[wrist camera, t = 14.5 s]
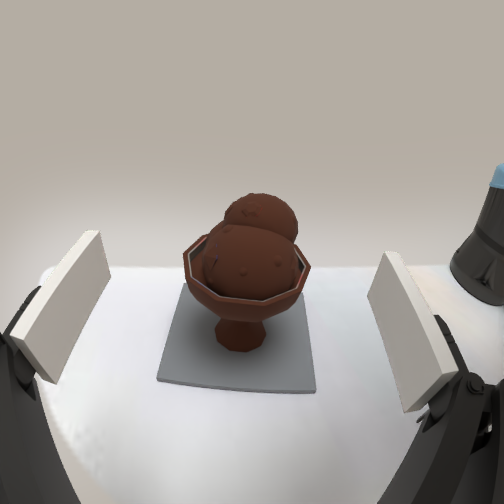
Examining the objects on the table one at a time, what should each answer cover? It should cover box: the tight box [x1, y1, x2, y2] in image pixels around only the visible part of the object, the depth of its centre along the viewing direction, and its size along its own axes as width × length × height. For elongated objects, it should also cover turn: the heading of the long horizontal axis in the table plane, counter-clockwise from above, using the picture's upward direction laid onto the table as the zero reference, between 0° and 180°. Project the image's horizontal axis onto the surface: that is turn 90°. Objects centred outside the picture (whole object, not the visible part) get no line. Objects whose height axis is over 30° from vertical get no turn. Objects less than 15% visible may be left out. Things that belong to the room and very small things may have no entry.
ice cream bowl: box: [183, 193, 311, 353], centre depth 26 cm, size 11×11×15 cm
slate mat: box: [156, 283, 316, 393], centre depth 30 cm, size 15×14×1 cm
